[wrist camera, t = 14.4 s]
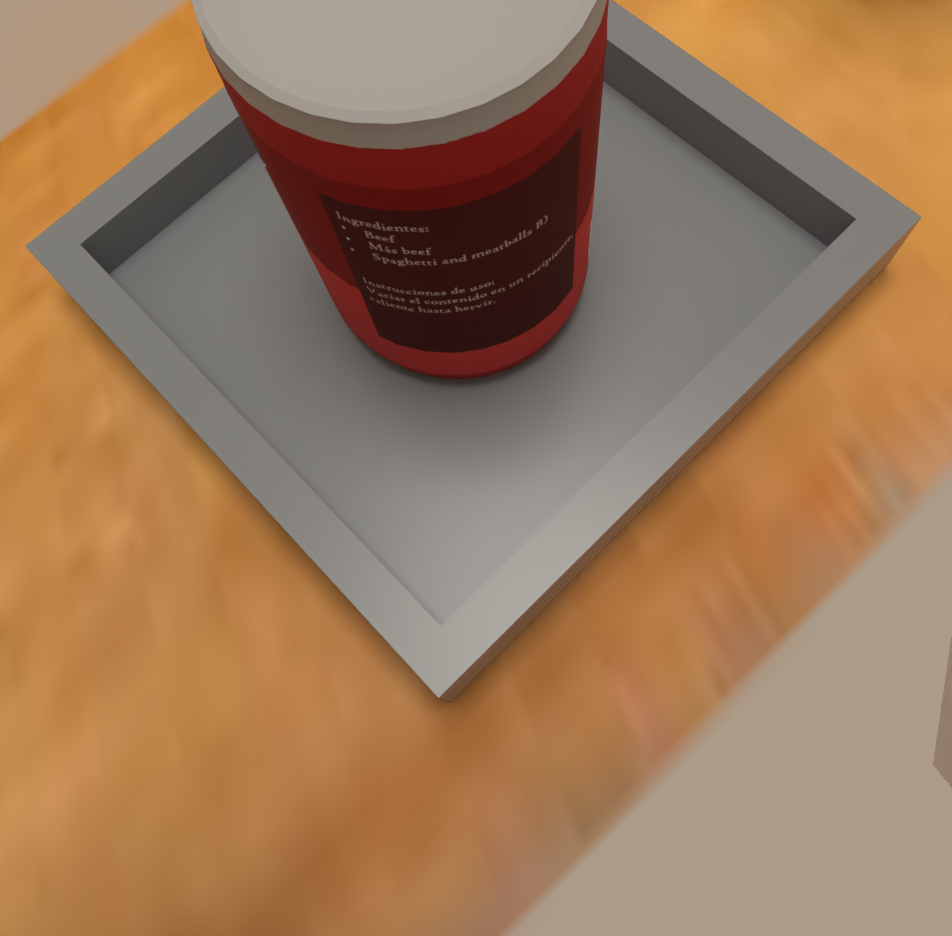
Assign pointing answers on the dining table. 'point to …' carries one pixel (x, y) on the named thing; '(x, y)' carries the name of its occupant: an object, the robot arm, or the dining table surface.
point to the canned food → (428, 160)
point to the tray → (498, 395)
